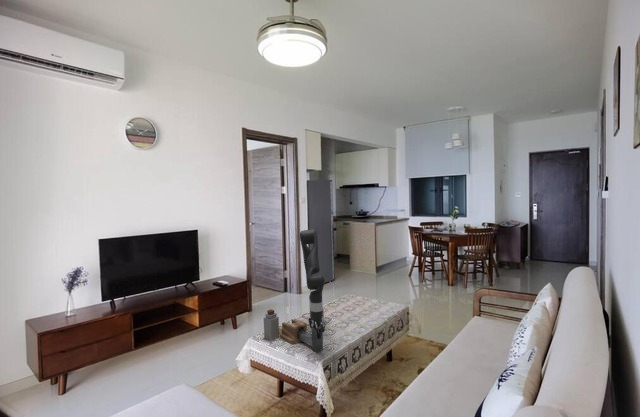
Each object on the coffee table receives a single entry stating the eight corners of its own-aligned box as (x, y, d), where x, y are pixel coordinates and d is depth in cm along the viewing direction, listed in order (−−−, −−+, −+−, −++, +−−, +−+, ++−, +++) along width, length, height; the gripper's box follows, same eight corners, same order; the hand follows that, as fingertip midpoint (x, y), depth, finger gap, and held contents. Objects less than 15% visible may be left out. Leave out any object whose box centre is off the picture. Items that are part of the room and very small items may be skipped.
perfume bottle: (272, 334, 232) (271, 307, 231) (279, 337, 228) (278, 310, 227) (264, 338, 227) (263, 310, 226) (271, 341, 223) (270, 313, 222)
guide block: (297, 331, 236) (296, 316, 236) (309, 337, 226) (309, 322, 225) (279, 337, 228) (279, 321, 227) (291, 344, 217) (291, 328, 216)
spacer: (291, 332, 236) (288, 330, 239) (291, 326, 236) (288, 324, 239) (281, 335, 231) (278, 333, 235) (281, 329, 231) (278, 327, 234)
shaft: (295, 334, 230) (294, 314, 229) (323, 349, 208) (322, 326, 208) (289, 336, 227) (288, 316, 226) (316, 351, 205) (315, 329, 204)
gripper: (329, 310, 204) (329, 339, 205) (313, 304, 215) (314, 332, 216) (319, 313, 199) (319, 343, 200) (304, 307, 210) (304, 335, 211)
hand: (317, 337), depth 208 cm, fingers closed on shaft, 4 cm apart
